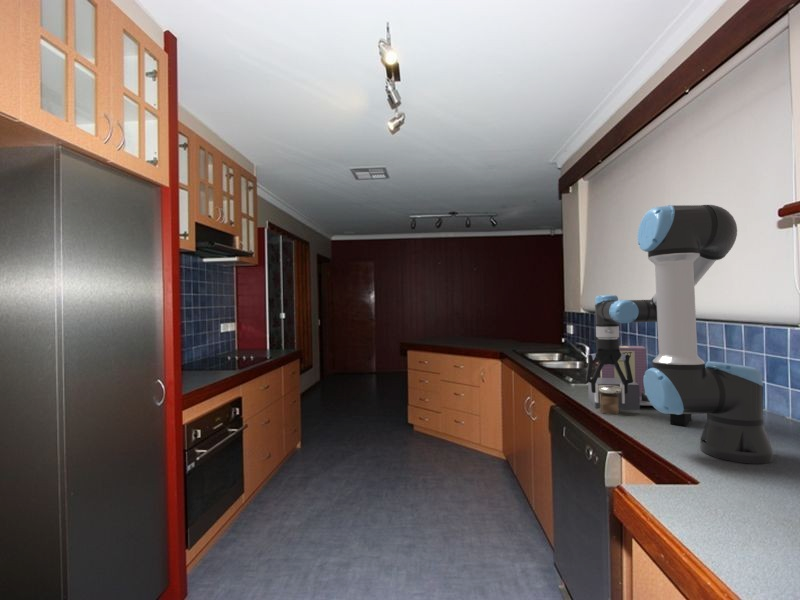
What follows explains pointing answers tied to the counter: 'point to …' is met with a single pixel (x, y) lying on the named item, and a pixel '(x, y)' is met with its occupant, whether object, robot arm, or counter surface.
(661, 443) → the counter surface
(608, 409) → the wooden block
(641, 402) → the tray
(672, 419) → the electronic device
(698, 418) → the counter surface
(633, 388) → the housing
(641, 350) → the box
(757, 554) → the counter surface
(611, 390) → the disc
